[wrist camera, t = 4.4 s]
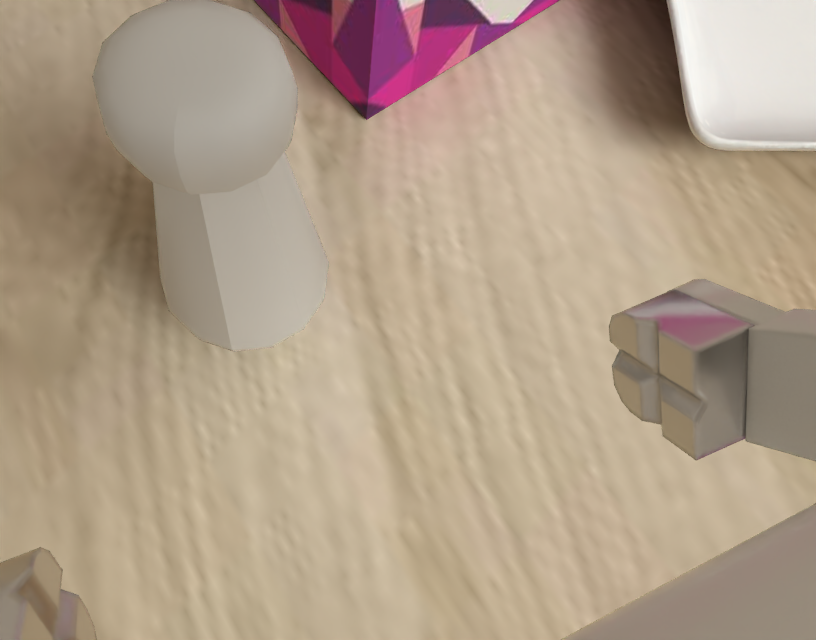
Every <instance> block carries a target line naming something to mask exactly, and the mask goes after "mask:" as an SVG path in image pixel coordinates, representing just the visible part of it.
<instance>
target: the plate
mask: <svg viewBox="0 0 816 640" xmlns="http://www.w3.org/2000/svg"><path fill="white" fill-rule="evenodd" d="M666 1H667V5H668V10H669V16H670V21H671V26H672V31H673V37H674V43H675V49H676V55H677V62H678V68H679V75H680V81H681V88H682V95H683V102H684V107H685V113H686V117H687V120H688V124H689V127H690V129H691V132H692V134H693V135H694V136H695V137H696V138H697V140H698V141H700V142H701V143H702V144H704V145H705V146H707V147H710V148H712V149H717V150H727V151H816V0H666Z"/></svg>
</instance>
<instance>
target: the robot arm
mask: <svg viewBox="0 0 816 640" xmlns="http://www.w3.org/2000/svg"><path fill="white" fill-rule="evenodd" d="M609 335H610V342H611V343H612V344H613V345H614V346H616V347H617V348H618V349H619V352H618V354H617V356H616V359H615V361H614V363H613V365H612V371H613V379H614V386H615V388H616V390H617V392H618V394H619V396H620V399H621V401H622V402H623V403H624V405H625V406H626V407H627V408H628V410H629V411H630V412H631V413H633V414H634V415H635V416H636V417H638V418H639V419H640V420H642V421H646V422H651V423H656V424H661V427H662V434H663V437H665V438H666V439H667V440H669V441H670V442H671V443H673V444H674V445H676V446H677V447H678V448H680V449H681V450H682V451H684V452H685V453H687V454H688V455H689V456H691V457H692V458H693V459H695V460H698V459H700V458H703V457H705V456H707V455H709V454H712V453H714V452H716V451H718V450H720V449H723V448H725V447H727V446H729V445H732V444H734V443H736V442H738V441H740V440H743V439H745V438H746V441H747V442H750V443H754V444H757V445H761V446H764V447H768V448H771V449H775V450H778V451H782V452H785V453H789V454H792V455H796V456H799V457H802V458H806V459H809V460H813V461H816V310H807V309H793V310H790V311H788V312H784V311H782V310H779V309H777V308H774V307H772V306H770V305H767V304H765V303H762V302H760V301H757V300H755V299H752V298H750V297H747V296H745V295H743V294H740V293H738V292H735V291H733V290H730V289H728V288H725V287H723V286H720V285H718V284H715V283H713V282H711V281H708V280H706V279H694V280H692V281H689V282H687V283H685V284H683V285H681V286H678V287H676V288H674V289H672V290H669V291H667V292H666V293H664V294H662V295H659V296H657V297H655V298H652V299H650V300H648V301H645V302H643V303H641V304H638V305H636V306H634V307H631V308H629V309H627V310H624V311H622V312H620V313H617V314H615V315H613V316H612V317H611V321H610V325H609ZM62 571H63V570H62V568H61V567H60V565H59V564H58V562H57V561H56V560H55V558H54V557H53V555H52V554H51V552H50V551H48V550H46V549H43V548H41V547H40V548H37V549H35V550H32V551H29V552H27V553H24V554H22V555H19V556H16V557H14V558H11V559H9V560H6V561H3V562H1V563H0V640H97V638H96V633H95V628H94V625H93V622H92V620H91V617H90V615H89V612H88V610H87V608H86V606H85V605H84V603H83V602H82V600H81V598H80V597H79V595H77V594H74V593H71V592H68V591H65V590H62V589H61V581H62ZM561 640H816V503H815V504H813V505H811V506H810V507H808V508H806V509H804V510H802V511H800V512H798V513H796V514H795V515H793V516H791V517H789V518H787V519H785V520H783V521H782V522H780V523H778V524H776V525H774V526H772V527H770V528H768V529H767V530H765V531H763V532H761V533H759V534H757V535H755V536H753V537H752V538H750V539H748V540H746V541H744V542H742V543H740V544H738V545H737V546H735V547H733V548H731V549H729V550H727V551H725V552H723V553H722V554H720V555H718V556H716V557H714V558H712V559H710V560H708V561H707V562H705V563H703V564H701V565H699V566H697V567H695V568H694V569H692V570H690V571H688V572H686V573H684V574H682V575H680V576H679V577H677V578H675V579H673V580H671V581H669V582H667V583H665V584H664V585H662V586H660V587H658V588H656V589H654V590H652V591H650V592H649V593H647V594H645V595H643V596H641V597H639V598H637V599H635V600H634V601H632V602H630V603H628V604H626V605H624V606H622V607H621V608H619V609H617V610H615V611H613V612H611V613H609V614H607V615H606V616H604V617H602V618H600V619H598V620H596V621H594V622H593V623H591V624H589V625H587V626H585V627H583V628H581V629H579V630H578V631H576V632H574V633H572V634H570V635H568V636H566V637H565V638H563V639H561Z"/></svg>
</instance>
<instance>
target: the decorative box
mask: <svg viewBox="0 0 816 640" xmlns="http://www.w3.org/2000/svg"><path fill="white" fill-rule="evenodd" d="M254 1H255V2H256V3H257V4H258V5H259V6H260V7H261V8H262V9H263V10H264V11H265V12H266V13H267V14H268V16H269V17H270V18H271V19H272V20H273V21H274V22H275V23H276V24H277V25H278V26H279V27H280V28H281V29H282V30H283V32H284V33H285V34H286V35H287V36H288V37H289V38H290V39H291V40H292V41H293V42H294V43H295V44H296V45H297V46H298V48H299V49H300V50H301V51H302V52H303V53H304V54H305V55H306V56H307V57H308V58H309V59H310V60H311V61H312V62H313V63H314V65H315V66H316V67H317V68H318V69H319V70H320V71H321V72H322V73H323V74H324V75H325V76H326V77H327V78H328V79H329V81H330V82H331V83H332V84H333V85H334V86H335V87H336V88H337V89H338V90H339V91H340V92H341V93H342V94H343V95H344V97H345V98H346V99H347V100H348V101H349V102H350V103H351V104H352V105H353V106H354V107H355V108H356V109H357V110H358V111H359V112H360V114H361V115H362V116H363V117H364V118H365V119H366V120H367V119H369V118H370V117H372V116H373V115H375V114H377V113H378V112H380V111H382V110H383V109H385V108H386V107H388V106H390V105H391V104H393V103H394V102H396V101H398V100H399V99H401V98H403V97H404V96H406V95H407V94H409V93H411V92H412V91H414V90H415V89H417V88H419V87H420V86H422V85H424V84H425V83H427V82H428V81H430V80H432V79H433V78H435V77H436V76H438V75H440V74H441V73H443V72H444V71H446V70H448V69H449V68H451V67H453V66H454V65H456V64H457V63H459V62H461V61H462V60H464V59H465V58H467V57H469V56H470V55H472V54H474V53H475V52H477V51H478V50H480V49H482V48H483V47H485V46H486V45H488V44H490V43H491V42H493V41H495V40H496V39H498V38H499V37H501V36H503V35H504V34H506V33H507V32H509V31H511V30H512V29H514V28H516V27H517V26H519V25H520V24H522V23H524V22H525V21H527V20H528V19H530V18H532V17H533V16H535V15H537V14H538V13H540V12H541V11H543V10H545V9H546V8H548V7H549V6H551V5H553V4H554V3H556V2H558V1H559V0H254Z"/></svg>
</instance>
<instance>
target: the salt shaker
mask: <svg viewBox="0 0 816 640" xmlns="http://www.w3.org/2000/svg"><path fill="white" fill-rule="evenodd" d="M92 77H93V82H94V87H95V92H96V96H97V100H98V104H99V108H100V111H101V115H102V119H103V123H104V126H105V130H106V133H107V135H108V137H109V138H110V140H111V141H112V143H113V145H114V146H115V148H116V150H117V151H118V152H119V153H120V154H121V155H122V156H124V157H125V158H126V159H127V160H128V161H129V162H130V163H131V164H132V165H133V166H134V167H135V168H137V169H138V170H139V171H140V172H141V173H142V174H143V175H144V176H145V177H147V178H148V179H149V180H151V181H152V182H153V192H154V205H155V218H156V231H157V244H158V257H159V270H160V279H161V283H162V287H163V290H164V294H165V298H166V301H167V305H168V309H169V311H170V312H171V313H172V314H173V315H174V316H175V317H176V318H177V319H178V320H179V321H180V322H181V323H182V324H183V325H184V326H185V327H186V328H187V329H189V330H190V331H191V332H192V333H193V334H194V335H195V336H196V337H197V338H198V339H200V340H202V341H205V342H208V343H211V344H214V345H217V346H220V347H223V348H226V349H229V350H232V351H243V350H253V349H262V348H271V347H274V346H275V345H277V344H279V343H281V342H282V341H284V340H286V339H288V338H289V337H291V336H293V335H294V334H296V333H298V332H300V331H301V330H303V329H304V328H305V326H306V325H307V324H308V322H309V321H310V319H311V318H312V316H313V315H314V313H315V312H316V311H317V309H318V308H319V306H320V305H321V303H322V302H323V300H324V296H325V290H326V282H327V275H328V268H329V261H328V259H327V256H326V254H325V251H324V248H323V246H322V243H321V241H320V238H319V236H318V233H317V231H316V229H315V226H314V224H313V221H312V219H311V216H310V214H309V211H308V209H307V206H306V204H305V201H304V199H303V196H302V194H301V191H300V189H299V186H298V184H297V181H296V178H295V176H294V173H293V171H292V168H291V166H290V163H289V161H288V158H287V156H286V153H285V151H286V149H287V148H288V147H289V144H290V142H291V140H292V135H293V129H294V124H295V118H296V113H297V107H298V88H297V85H296V82H295V79H294V75H293V72H292V69H291V67H290V64H289V62H288V60H287V57H286V55H285V52H284V50H283V48H282V45H281V43H280V41H279V38H278V36H276V35H275V34H274V33H273V32H272V31H271V30H269V29H268V28H267V27H266V26H265V25H264V24H263V23H261V22H260V21H259V20H258V19H257V18H256V17H255V16H253V15H252V14H251V13H250V12H247V11H243V10H240V9H237V8H234V7H231V6H228V5H224V4H221V3H218V2H215V1H212V0H168V1H166V2H163V3H161V4H158V5H156V6H153V7H151V8H148V9H146V10H143V11H141V12H138V13H136V14H134V15H132V16H130V17H129V18H128V19H127V20H126V21H125V22H124V23H123V24H122V25H121V26H120V27H119V28H117V29H116V30H115V31H114V32H113V33H112V34H111V35H110V36H109V37H108V38H107V39H106V40H105V41H104V42H103V43H102V46H101V49H100V53H99V56H98V59H97V63H96V66H95V69H94V73H93V76H92Z"/></svg>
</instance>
